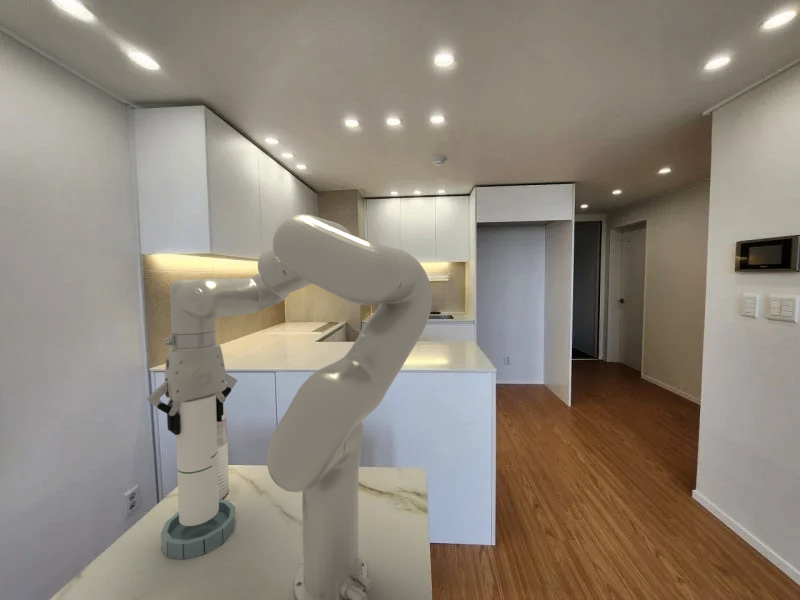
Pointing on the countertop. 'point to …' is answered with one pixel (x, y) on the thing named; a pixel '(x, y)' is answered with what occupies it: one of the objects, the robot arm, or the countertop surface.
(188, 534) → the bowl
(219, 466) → the water bottle
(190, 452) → the cylindrical container
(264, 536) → the countertop surface
